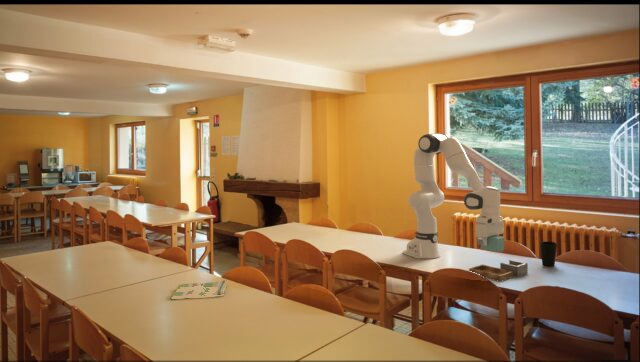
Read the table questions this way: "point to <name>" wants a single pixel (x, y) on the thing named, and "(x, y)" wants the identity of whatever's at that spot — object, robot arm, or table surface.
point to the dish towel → (212, 284)
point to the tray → (492, 272)
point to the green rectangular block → (492, 243)
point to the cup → (548, 253)
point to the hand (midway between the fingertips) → (490, 244)
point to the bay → (515, 267)
